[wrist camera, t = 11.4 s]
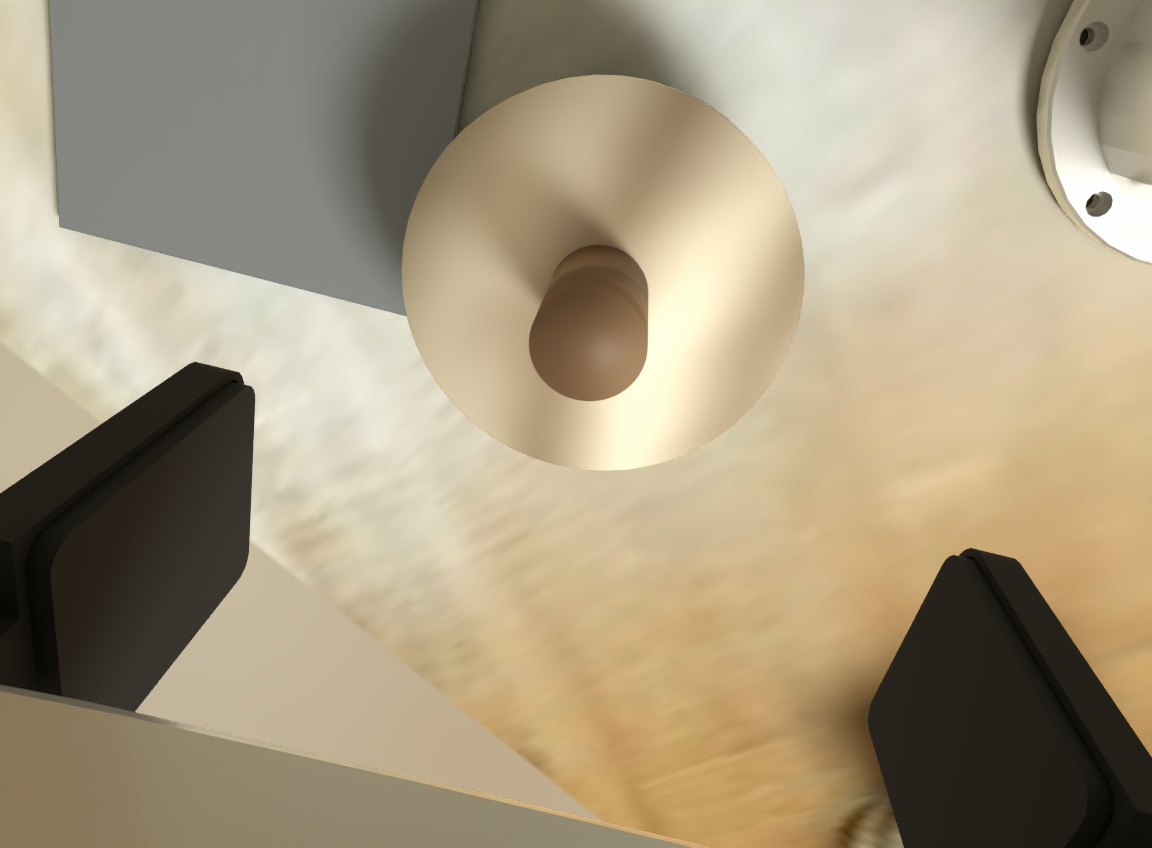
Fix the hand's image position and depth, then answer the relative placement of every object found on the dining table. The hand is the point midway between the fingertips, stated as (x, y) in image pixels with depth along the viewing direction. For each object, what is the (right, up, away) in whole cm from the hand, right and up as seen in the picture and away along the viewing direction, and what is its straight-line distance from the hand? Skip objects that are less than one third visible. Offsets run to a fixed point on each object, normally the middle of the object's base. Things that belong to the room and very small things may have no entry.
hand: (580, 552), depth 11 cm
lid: (+1, +6, +16) cm, 17 cm away
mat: (-12, +15, +19) cm, 27 cm away
